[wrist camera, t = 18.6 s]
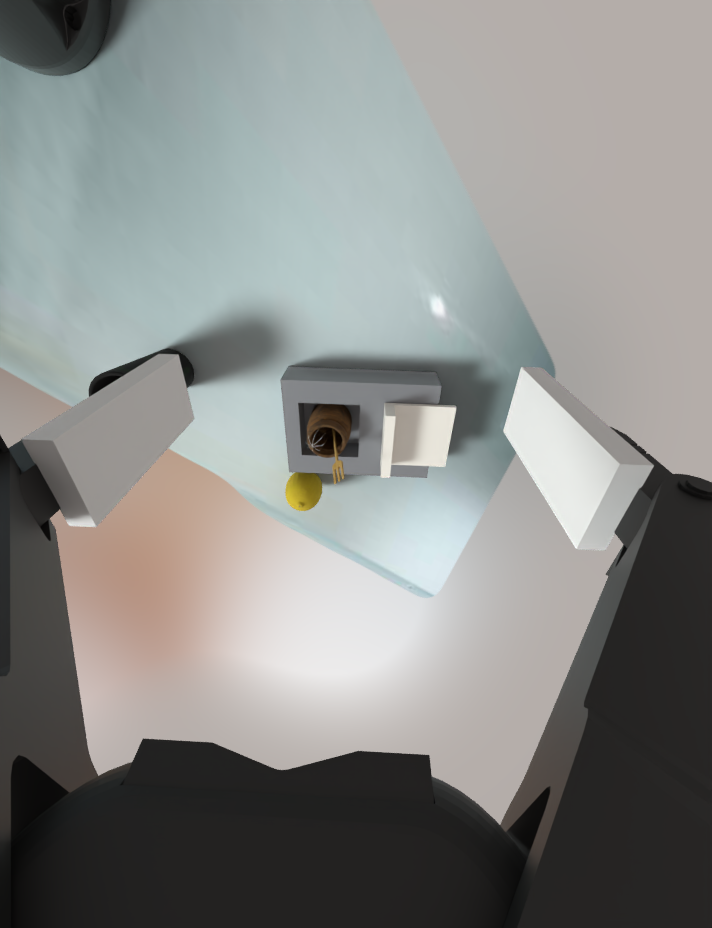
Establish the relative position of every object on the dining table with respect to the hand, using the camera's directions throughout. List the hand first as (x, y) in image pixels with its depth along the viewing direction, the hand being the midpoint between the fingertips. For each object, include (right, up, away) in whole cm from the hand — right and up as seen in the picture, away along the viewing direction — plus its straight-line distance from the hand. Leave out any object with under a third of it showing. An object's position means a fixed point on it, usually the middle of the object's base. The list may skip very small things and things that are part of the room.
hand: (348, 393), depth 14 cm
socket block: (+1, +4, +39) cm, 39 cm away
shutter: (+8, +1, +34) cm, 35 cm away
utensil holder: (-3, +4, +38) cm, 39 cm away
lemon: (-8, -4, +45) cm, 46 cm away
